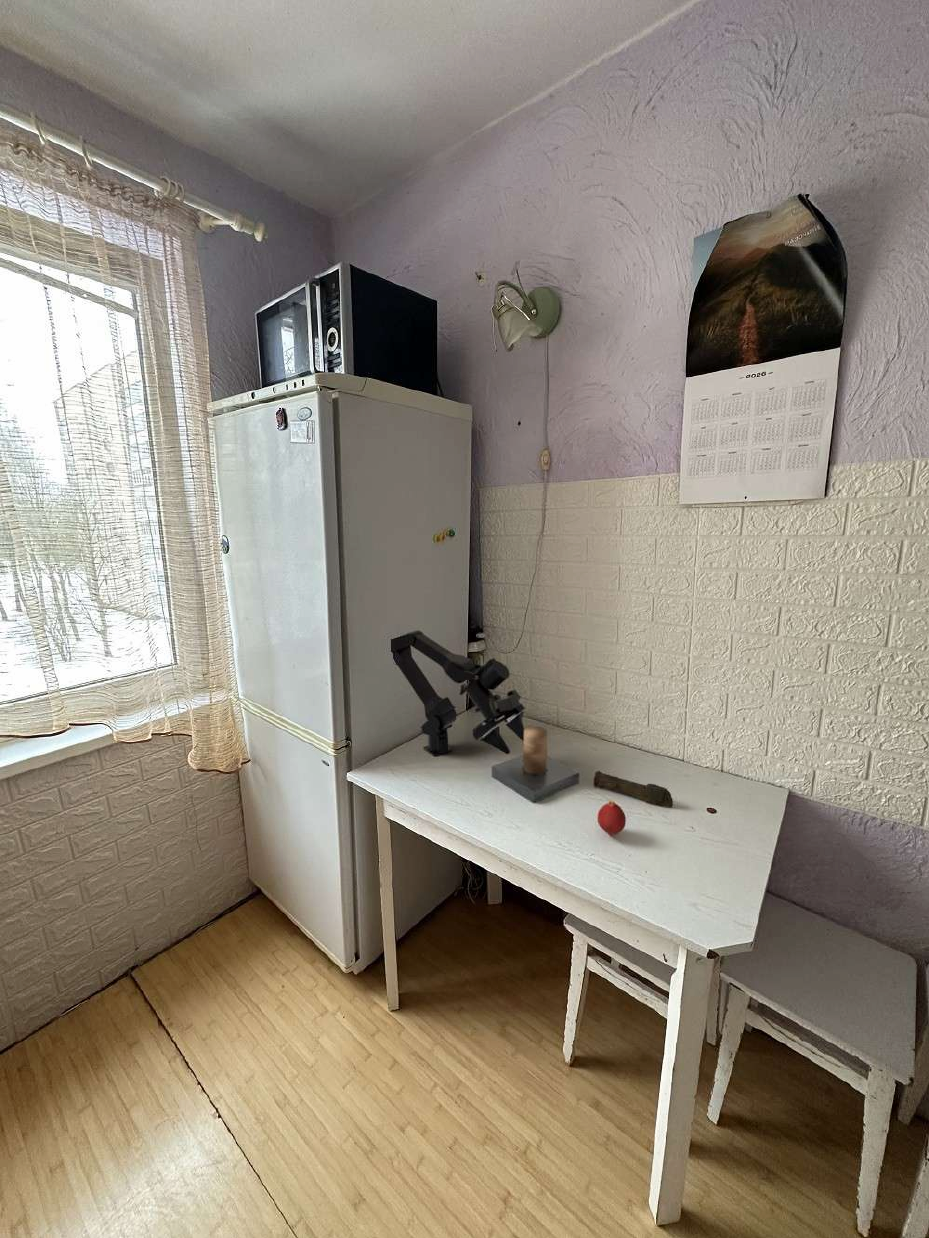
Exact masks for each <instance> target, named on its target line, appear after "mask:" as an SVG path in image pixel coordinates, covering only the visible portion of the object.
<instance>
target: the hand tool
mask: <svg viewBox="0 0 929 1238" xmlns="http://www.w3.org/2000/svg"><path fill="white" fill-rule="evenodd" d="M593 786H594V788H596V787H598V788H599V789H606V790H611V791H614V792H616V793H620V794H623V795H627V796H631V797H634V798H637V799H640V800H643V801H645V804H648V805H652V806H656V807H661V808H662V807H663V808H670V809H671V808H673V806H674V805H673V804H674V800H673V797H672V794H671V792H670V791H669V790H668V788H666V787H663V786H660V785H657V784H656V783H647V784H641V783H637V782H634V781H631V780H627V779H625V778H624V779H623V778H620V777H617V776H613V775H610V774H607V773H603V772H601V771H600V770H597V771H596V772H595V773H594V776H593Z"/></svg>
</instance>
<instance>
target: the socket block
mask: <svg viewBox="0 0 929 1238" xmlns="http://www.w3.org/2000/svg"><path fill="white" fill-rule="evenodd" d="M491 777H492V778H493V779H495V780H496V781H498V782H499V783H501V784H502V785H503V786H505V787H507V788H509V789H510V790H512V791H513V792H514V793H516V794H519V795H520V796H522V797H523V798H524V799H526V800H528V801H530V802H531V803H532V804H534V803H537V802H538V801H541V800H543V799H546V798H548V797H550V796H552V795H555V794H557V793H560V792H562V791H564V790H567V789H569V788H571V787H574V786H576V785H578V784H579V783H580V782H579V781H580V772H579V771H577V770H575V769H573V768H571V767H569V766H568V765H565V764H563V763H562V762H560V761H557V760H556V759H553V758H551V757H550V756H548V755H547V765H546V772H545V773H543V774H540V775H535V776H534V775H532V774H529V773H526V772H525V771H524V770H523V754H522V755H519V756H516V757H514V758H511V759H507V760H505V761H502V762H500V763H499V762H498V763H497V764H494V765H492V766H491Z"/></svg>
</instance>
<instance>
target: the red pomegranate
mask: <svg viewBox="0 0 929 1238" xmlns="http://www.w3.org/2000/svg"><path fill="white" fill-rule="evenodd" d="M626 821H627V819H626V814H625V812H624V810H623V809H622V808H621V806H619V804H617V803H616V802H615V801H614V800H609V801H608V803H605V804H603V805H602V806H601V807H600V809H599V810H598V813H597V823H598V826H599V827H600V828H601V830H602V831H603V832H605V833H606V834H607V835H609V836H614V835H617V834H620V833H621V832H622V831H623V830H624V829H625V827H626Z"/></svg>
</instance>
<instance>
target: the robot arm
mask: <svg viewBox="0 0 929 1238" xmlns="http://www.w3.org/2000/svg"><path fill="white" fill-rule="evenodd" d="M402 635H403V636H400V637H397V638H394V639H391V652H392V653H393V659H394V661H395V663H396V664H395V665H396V666H397V667H398V668H399V669H400V671H401V672H402V674H403V676H404V677H405V679H406V680H407V682H408V684H409V685H410V687H412V690H414V692H415V694H416V695H417V697H418V698H419V700H420V701H421V702H422V704H423V705H424V706H423V707H424V715H425V719H426V721H425V723H423V724H422V725H421V726H420V729H421V731H422V734H423V735H426V736H427V745H426V746H423V747H422V748H423V750H424V751H426V752H427V753H429V754H430V755H431V756H433V757H436V756H439V755H440V756H441V755H442V754H446V753H450V752H452V751H453V748H452V747H450V746H449V737H448V736H449V735H448V734H449V733H448V729H450V728H452V727H453V724H454V723H455V722H456V721H457V716H458V713H457V711H456V709H457V707H456V706H455V705H454V704H453V703H452V700H450V698H449V697H448V696H446V697H444V698H443V697H441V696H440V695H438V694H437V692H436V690H435V689H434V687H433V686H432V685H431V683H430V682H429V680H428V679H427V677H426V675H425V674H424V673H423V671H422V669H421V668H420V667H419V665H418V664H417V662H416V661H415V659H414V658H413V656H412V647H413V649H415V650H417V651H418V652H420V653H421V654H422V655H424V656H426V657H427V658H428V659H430V660H431V661H433V662H434V663H436V664H437V665H439V666H440V667H441V668H442V670H443V671H444V674H445V675H446V676H448V678H449V679H450V680H451V681H452V682H454V683H456V684H461V685H460V689H459V695H460V696H463V695H466V694H467V695H468V696H469V698H470V699H471V701H472V702H473V703H474V706H476V708H475V709H474V710H475V712H476V713H480V714H481V715H482V717H483V718H484V719H485V720H483V721H482V722H480V723H479V724H478V725H476V726H475V727H474V728H473V729H472V732H471V733H472V736H473V737H472V738H474V739H475V741H478V740H479V742H484V743H486V744H488V745H491V746H492V747H494V748H495V749H497V750H499V751H501V752H502V753H504V754H506V755H509V754H510V753H511V750H510V748H509V747H508V745H507V744H506V742H505V740H504V739H503V736H502V735H501V732H500V725H501V723H503V722H505V723H506V724H505V725H506V727H507V728H508V729H510V730H511V731H512V732H513V733H514V734H515V735H516V736H517V737H518V738H519V739H520V740H522V742H524V729H525V726H524V723H523V716H524V714H525V710H526V707H525V706H524V705H523V703H522V702H520V700H521V698H522V697H521V695H520V694H519V693H518V692H517V690H516V689H512V690H509V691H508V692H507V694H506V696H503V697H501V695H500V694H498V693H496V694H494V693H493V692H492V690H493V691H494V690H496V689H497V688H498V687H499V686H501V685H502V684H503V683H504V682H505V681H507V680H508V679H509V677H510V675H511V674H510V673H511V672H510V670H509V668H508V667H507V665H505V664H504V663H502V662H500V661H498V660H496V658H494V657H492V658H490V659H489V660H487V662H486V664H484V665H481V664H480V663H476V662H475V661H474V659H472V658H469V657H467V656H464V655H461V654H456V653H453V652H451V651H449V650H448V649H447V648H445V647H443V646H442V645H441V644H439V643H437V642H436V641H435V640H432V638H430V637H428V636H427V635H425V634H424V632H423V631H421V630H418V629H417V630H413V631H410V632H409V631H408V633H406V634H402ZM467 681H469V682H468V683H464V682H467Z"/></svg>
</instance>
